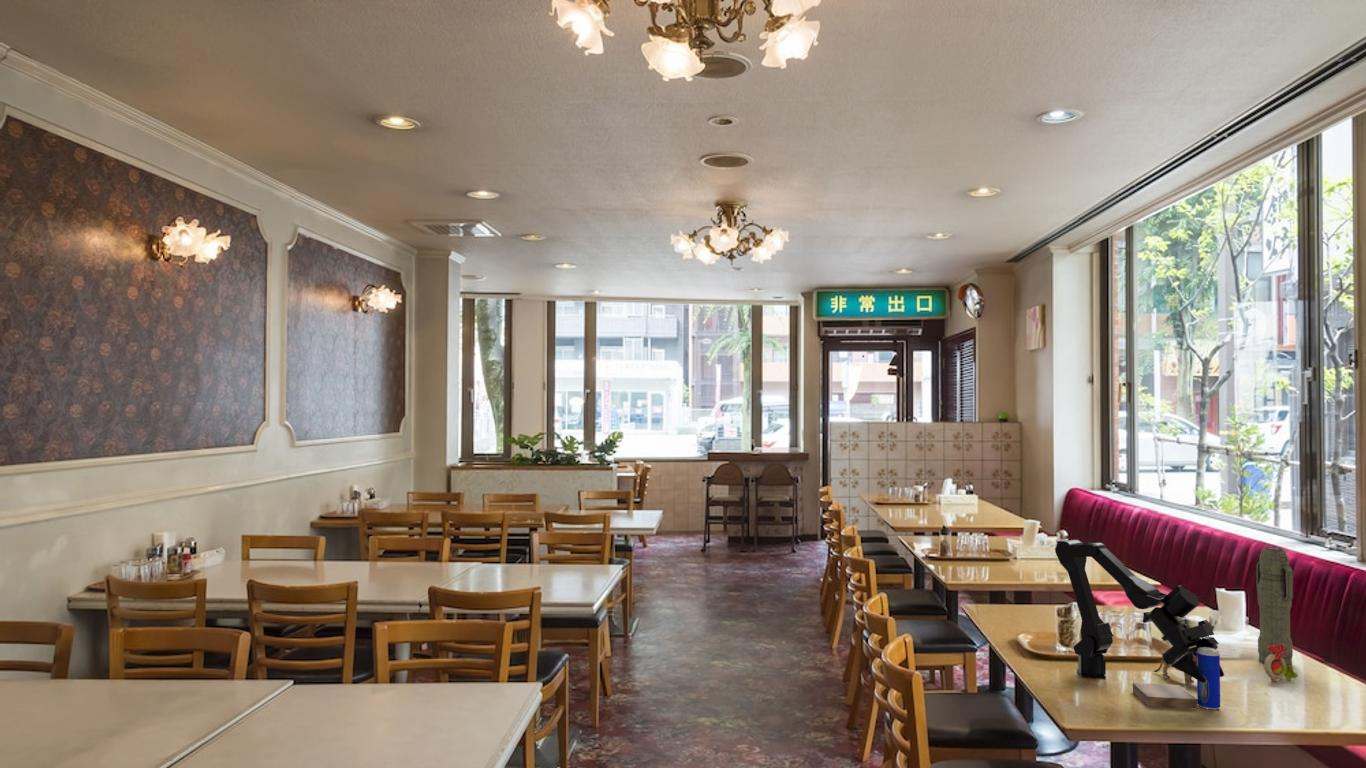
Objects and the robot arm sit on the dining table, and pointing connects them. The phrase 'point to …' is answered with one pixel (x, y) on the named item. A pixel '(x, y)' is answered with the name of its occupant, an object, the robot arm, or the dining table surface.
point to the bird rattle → (1278, 664)
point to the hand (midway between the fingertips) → (1213, 679)
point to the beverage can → (1209, 678)
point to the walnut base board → (1164, 695)
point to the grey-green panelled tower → (1274, 601)
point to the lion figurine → (1187, 677)
